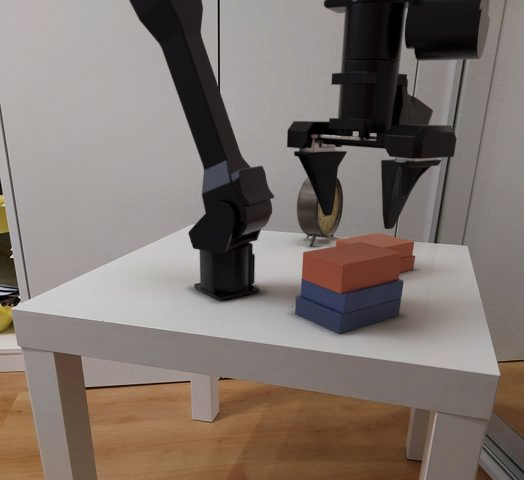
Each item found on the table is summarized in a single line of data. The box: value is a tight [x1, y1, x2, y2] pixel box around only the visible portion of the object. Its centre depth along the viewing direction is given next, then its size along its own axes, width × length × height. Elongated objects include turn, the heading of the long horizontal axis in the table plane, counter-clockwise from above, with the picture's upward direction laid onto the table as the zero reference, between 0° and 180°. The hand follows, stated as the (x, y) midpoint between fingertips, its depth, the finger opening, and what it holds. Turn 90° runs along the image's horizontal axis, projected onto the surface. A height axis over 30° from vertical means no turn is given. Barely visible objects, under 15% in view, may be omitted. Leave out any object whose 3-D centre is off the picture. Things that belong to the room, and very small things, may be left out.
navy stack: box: [294, 278, 405, 335], centre depth 62 cm, size 10×8×4 cm
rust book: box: [301, 242, 402, 294], centre depth 61 cm, size 10×6×3 cm
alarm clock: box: [296, 177, 344, 248], centre depth 94 cm, size 11×5×16 cm, turn 148°
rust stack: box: [335, 232, 416, 274], centre depth 81 cm, size 10×8×4 cm
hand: (356, 221), depth 59 cm, fingers open, 9 cm apart
